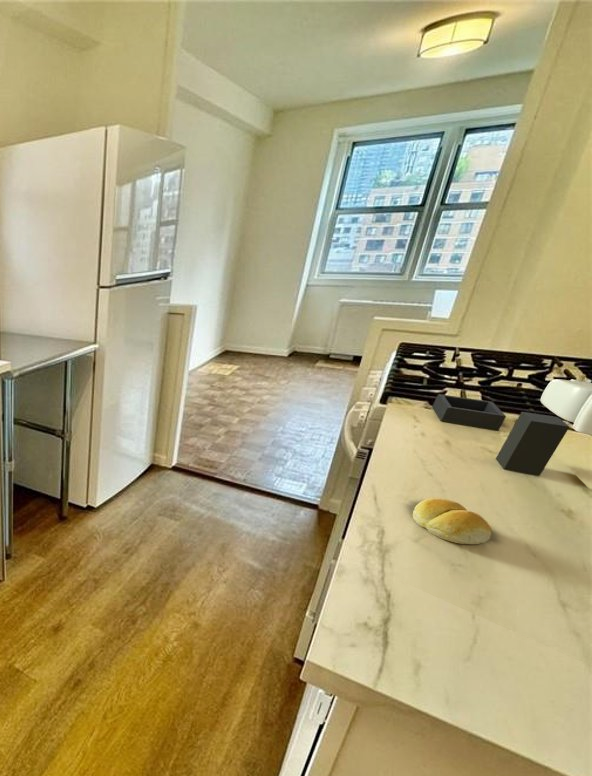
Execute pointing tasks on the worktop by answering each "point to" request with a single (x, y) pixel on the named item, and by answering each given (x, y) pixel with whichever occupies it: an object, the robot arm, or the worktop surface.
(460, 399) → the black open rectangular box
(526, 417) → the dark grey block
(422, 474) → the worktop surface
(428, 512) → the bread roll
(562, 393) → the robot arm
